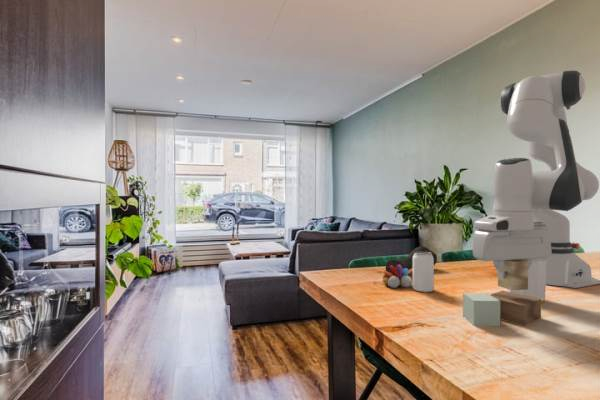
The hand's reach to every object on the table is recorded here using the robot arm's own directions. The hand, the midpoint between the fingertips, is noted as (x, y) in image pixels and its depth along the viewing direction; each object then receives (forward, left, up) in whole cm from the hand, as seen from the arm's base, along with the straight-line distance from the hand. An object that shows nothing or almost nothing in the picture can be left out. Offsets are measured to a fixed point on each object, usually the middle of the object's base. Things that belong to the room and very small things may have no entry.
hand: (512, 277), depth 83 cm
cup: (-15, -11, -10) cm, 21 cm away
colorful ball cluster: (+15, -33, -10) cm, 37 cm away
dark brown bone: (-1, -49, -10) cm, 50 cm away
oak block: (0, 0, -3) cm, 3 cm away
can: (+9, -26, -10) cm, 29 cm away
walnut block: (0, 0, -10) cm, 10 cm away
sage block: (+10, +1, -10) cm, 14 cm away
